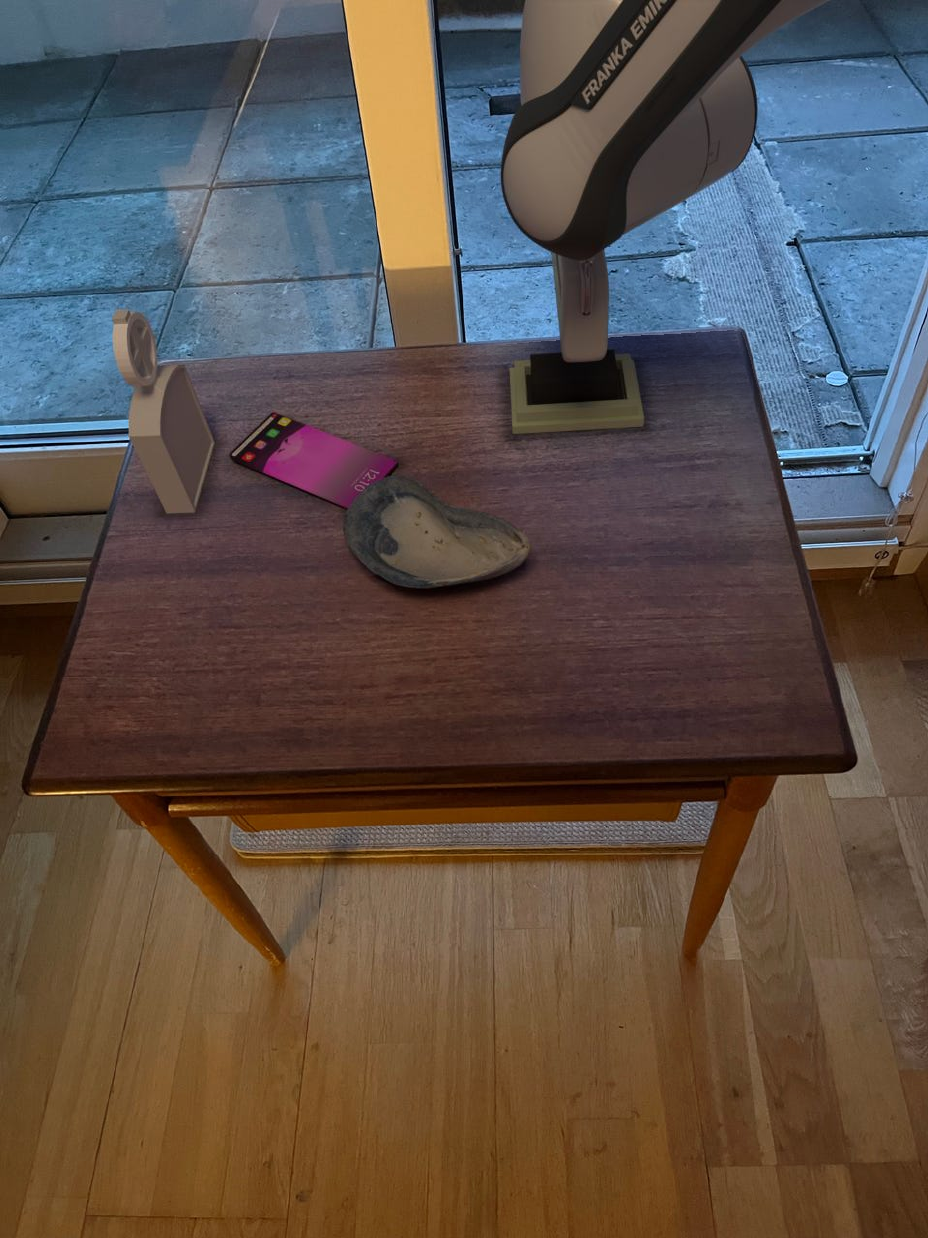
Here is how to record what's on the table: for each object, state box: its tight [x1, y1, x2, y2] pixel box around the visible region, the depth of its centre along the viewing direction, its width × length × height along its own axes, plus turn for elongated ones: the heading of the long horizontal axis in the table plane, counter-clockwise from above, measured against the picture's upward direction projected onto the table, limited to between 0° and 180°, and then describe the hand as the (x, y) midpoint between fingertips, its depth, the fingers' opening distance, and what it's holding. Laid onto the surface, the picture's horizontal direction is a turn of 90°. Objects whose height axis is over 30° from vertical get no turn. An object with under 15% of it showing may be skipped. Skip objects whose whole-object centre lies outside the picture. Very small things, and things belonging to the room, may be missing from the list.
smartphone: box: [228, 411, 399, 510], centre depth 87 cm, size 7×15×1 cm, turn 59°
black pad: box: [529, 348, 619, 405], centre depth 87 cm, size 8×4×3 cm, turn 90°
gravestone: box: [111, 308, 216, 515], centre depth 80 cm, size 3×9×18 cm, turn 178°
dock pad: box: [509, 352, 645, 435], centre depth 89 cm, size 12×9×2 cm
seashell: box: [342, 475, 532, 589], centre depth 77 cm, size 15×12×5 cm
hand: (574, 339), depth 84 cm, fingers closed
